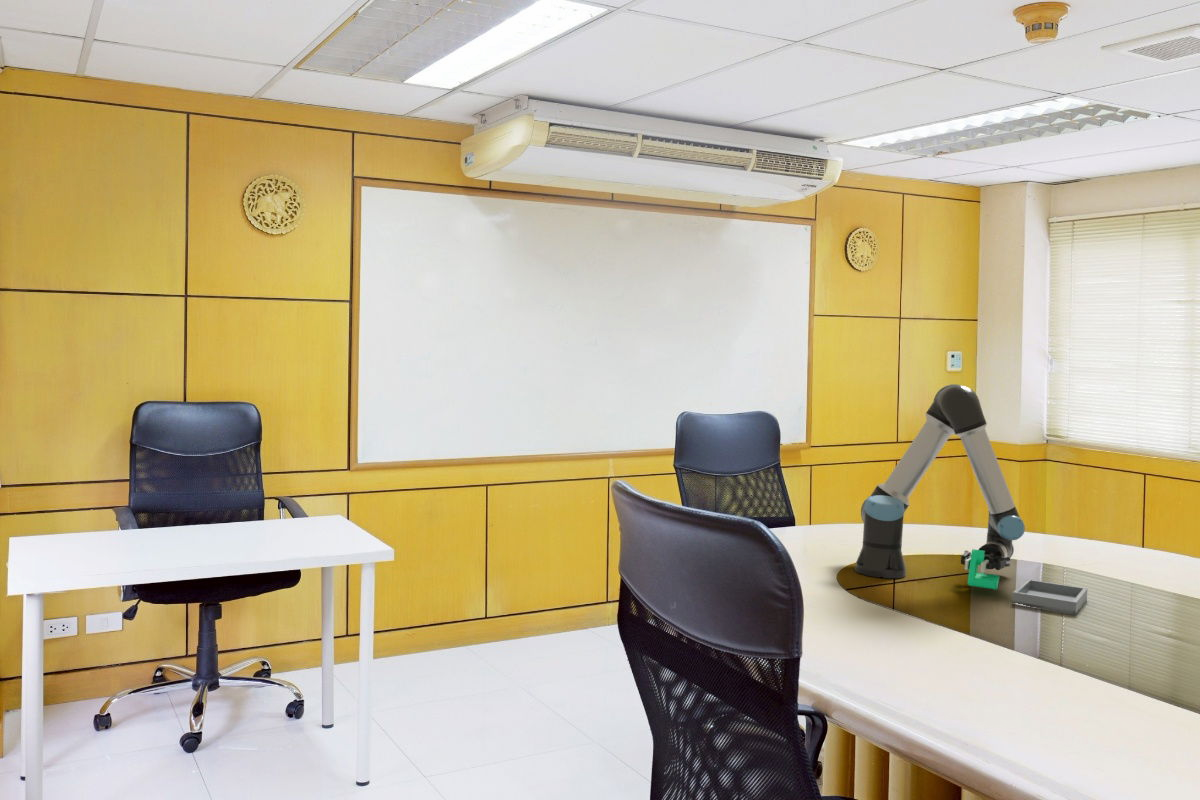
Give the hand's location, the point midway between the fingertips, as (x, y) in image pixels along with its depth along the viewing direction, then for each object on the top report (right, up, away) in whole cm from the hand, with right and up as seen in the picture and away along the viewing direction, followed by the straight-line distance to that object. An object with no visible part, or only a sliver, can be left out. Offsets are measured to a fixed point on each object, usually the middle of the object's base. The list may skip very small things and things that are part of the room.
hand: (974, 566), depth 286 cm
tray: (+19, -9, -6) cm, 22 cm away
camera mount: (+4, -6, +3) cm, 8 cm away
